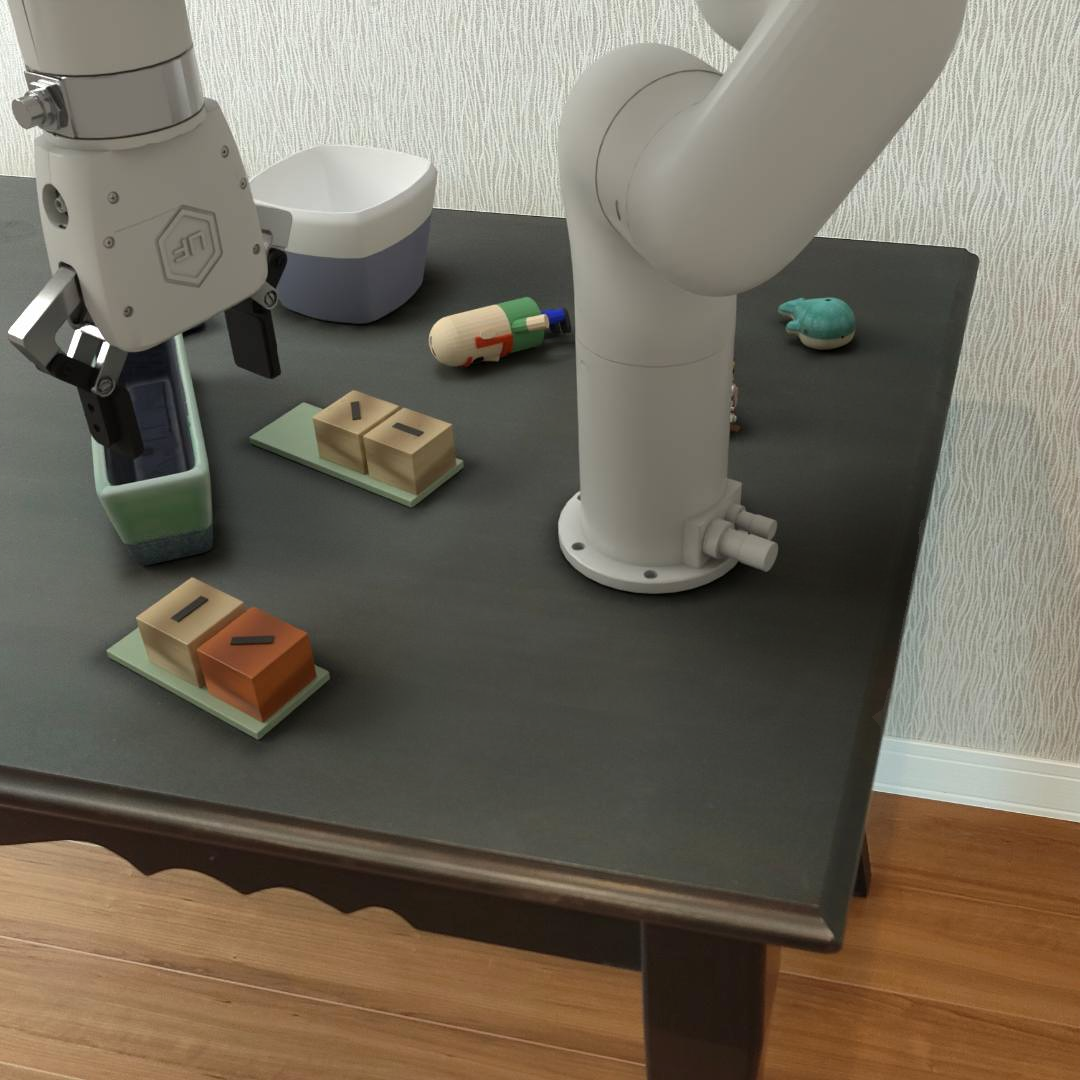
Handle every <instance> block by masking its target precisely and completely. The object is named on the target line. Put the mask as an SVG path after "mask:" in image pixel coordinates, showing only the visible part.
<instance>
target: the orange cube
mask: <svg viewBox="0 0 1080 1080" xmlns="http://www.w3.org/2000/svg"><path fill="white" fill-rule="evenodd" d="M310 641H311V640H310V636H309V633H308V632H306V631H304V630H303V629H300V628H298V627H296V626H294V625H293V624H290V623H288V622H286V621H284V620H282V619H280V618H278V617H276V616H274V615H271V614H270V613H268V612H265V611H263V610H261V609H259V608H257V607H255V606H251V607H250V608H248V609H246V612H245V613H243V614H242V615H241V616H240V617H238V618H237V619H236V620H234V621H233V622H232V623H230V624H229V625H228V626H226V627H225V628H224V629H223V630H221V631H220V632H219V633H217V634H216V635H215V636H213V637H212V638H211V639H209V640H208V641H207V642H206V643H204V644H203V645H202V646H200V647H199V648H198V649H197V653H198V657H199V660H200V664H201V667H202V671H203V675H204V678H205V682H206V685H207V689H208V693H209V694H211V695H213V696H214V697H216V698H218V699H220V700H222V701H224V702H225V703H227V704H229V705H231V706H233V707H235V708H237V709H238V710H240V711H242V712H244V713H246V714H248V715H249V716H251V717H253V718H255V719H257V720H259V721H260V722H262V723H264V722H265V721H266V720H267V719H268V718H270V717H271V716H272V715H273V714H274V713H275V712H277V711H278V710H279V709H280V708H281V707H282V706H284V705H285V704H286V703H287V702H288V701H290V700H291V699H292V698H293V697H294V696H295V695H297V694H298V693H299V692H300V691H301V690H302V689H304V688H305V687H306V686H307V685H308V684H309V683H311V682H312V681H313V680H314V679H315V678H316V677H317V675H316V670H315V665H316V664H315V660H314V656H313V652H312V646H311V642H310Z"/></svg>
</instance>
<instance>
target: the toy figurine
mask: <svg viewBox="0 0 1080 1080" xmlns="http://www.w3.org/2000/svg"><path fill="white" fill-rule="evenodd" d="M548 328H549V331H550V334H552V335H553V336H555V335H559V334H560V333H562V334H563V335H567V334H571V332H572V323H571V318H570V313H569V311H568V309H567V307H560V308H556V309H555V308H551V309H547V310H542V311H541V310H540V308H539V306H538V304H537V302H536V301H535V300H534V299H533V298H531V297H530V296H524V297H521V298H517V299H513V300H508V301H504V302H500V303H496V304H492V305H487V306H482V307H479V308H475V309H471V310H467V311H462V312H459V313H453V314H451V315H447V316H444V317H442V318H440V319H438V320H437V321H436V322H435V323H434V324H433V326H432V327H431V330H430V332H429V335H428V346H429V349H430V350H429V351H430V352H431V353H432V356H433V357H434V358H435V359H436V360H437V361H438V362H439V363H441V364H443V365H446V366H448V367H460V368H463V367H464V368H467V367H470V365H472V364H478V363H481V362H499V361H500V359H501V358H504V357H507V356H509V355H511V353H516V352H520V351H523V350H527V349H531V348H535V347H539V346H541V344H542V343H543V341H544V338H545V329H548Z"/></svg>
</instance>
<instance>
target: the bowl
mask: <svg viewBox="0 0 1080 1080" xmlns="http://www.w3.org/2000/svg"><path fill="white" fill-rule="evenodd" d="M438 174H439V173H438V169H437V168H436V166H435V164H434V163H433V162H432V160H430V159H427V158H424V157H422V156H419V155H416V154H412V153H407V152H403V151H398V150H394V149H389V148H382V147H376V146H367V145H355V144H343V143H342V144H341V143H336V144H335V143H334V144H333V143H330V144H328V143H327V144H325V143H323V144H315V145H312V146H310V147H307V148H303V149H300V150H298V151H296V152H294V153H291V154H289V155H287V156H285V157H283V158H281V159H279V160H277V161H275V162H273V163H271V164H270V165H268V166H266V167H265V168H264V169H262V170H260V171H259V172H257V173H256V174H254V175H253V176H252V177H250V178H249V179H248V181H249V185H250V188H251V192H252V196H253V200H254V203H257V204H262V205H267V206H272V207H276V208H279V209H282V210H286V211H288V212H290V213H291V214H292V225H291V230H290V235H289V241H288V246H287V248H285V251H284V252H285V253H286V255H287V264H286V267H285V269H284V271H283V274H282V276H281V278H280V281H279V283H278V285H277V287H276V290H277V291H278V294H279V301H280V303H281V305H282V306H283V307H284V308H286V309H288V310H290V311H293V312H296V313H299V314H301V315H304V316H306V317H309V318H313V319H318V320H321V321H327V322H335V323H345V324H347V323H348V324H356V325H357V324H363V325H365V324H369V323H370V324H371V323H373V322H375V321H377V320H380V319H382V318H384V317H385V316H387V315H389V314H390V313H392V312H394V311H396V310H397V309H398V308H400V307H401V306H403V305H405V303H407V301H409V300H410V299H411V298H412V297H413V296H414V295H415V294H416V292H417V291H418V290H419V289H420V287H421V285H422V284H423V281H424V275H425V266H426V259H427V253H428V245H429V237H430V230H431V222H432V215H433V208H434V203H435V195H436V187H437V182H438Z"/></svg>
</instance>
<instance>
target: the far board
mask: <svg viewBox="0 0 1080 1080" xmlns="http://www.w3.org/2000/svg"><path fill="white" fill-rule="evenodd" d="M324 409H325V408H324ZM324 409H323V408H321V407H318V406H315V405H312V404H310V403H307V402H304V401H303V402H301V403H300V404H298V405H297V406H295V407H293V408H292V409H291V410H289V411H288V412H286V413H284V414H283V415H281V416H279V417H278V418H277V419H275V420H273V421H272V422H270V423H268V424H267V425H266V426H264V427H263V428H261V429H260V430H258V431H257V432H255V433H253V434H252V435H250V436H249V437H248V438H249V443H250V445H254V446H256V447H258V448H261V449H262V450H266V451H268V452H271V453H273V454H276V455H279V456H281V457H283V458H286V459H288V460H291V461H293V462H296V463H298V464H301V465H303V466H306V467H308V468H311V469H314V470H316V471H319V472H321V473H324V474H326V475H328V476H331V477H333V478H336V479H339V480H341V481H342V482H346V483H348V484H351V485H354V486H356V487H358V488H361V489H363V490H366V491H369V492H371V493H373V494H376V495H379V496H381V497H384V498H386V499H388V500H390V501H394V502H396V503H399V504H401V505H404V506H406V507H409V508H414V507H415V506H417V504H419V503H420V502H422V500H424V499H426V498H427V497H429V495H431V493H433V492H434V491H435V490H437V489H438V488H440V487H441V486H442V485H443V484H444V483H446V482H447V481H449V479H451V478H452V477H453V476H454V475H457V473H459V472H460V470H462V469H464V467H465V465H464V464H465V463H464V460H462V459H459V458H457V457H456V466H454V467H453V468H452V469H451V470H449V471H448V472H447V473H445V474H444V475H443V476H442V477H440V478H439V479H438V480H436V481H435V482H434V483H433V484H431V485H430V486H429V487H427V488H426V489H425V490H424V491H422V492H421V493H420V494H418V495H415V494H412V493H410V492H407V491H405V490H402V489H399V488H397V487H394V486H392V485H389V484H387V483H384V482H382V481H379V480H376V479H374V478H371V477H369V472H368V473H366V474H362V473H359V472H357V471H354V470H352V469H349V468H346V467H344V466H341V465H339V464H336V463H334V462H331V461H329V460H326V459H323V458H321V457H319V452H318V446H317V441H316V435H315V429H314V424H313V416H315V415H316V414H318V413H319V412H321V411H322V410H324Z"/></svg>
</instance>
